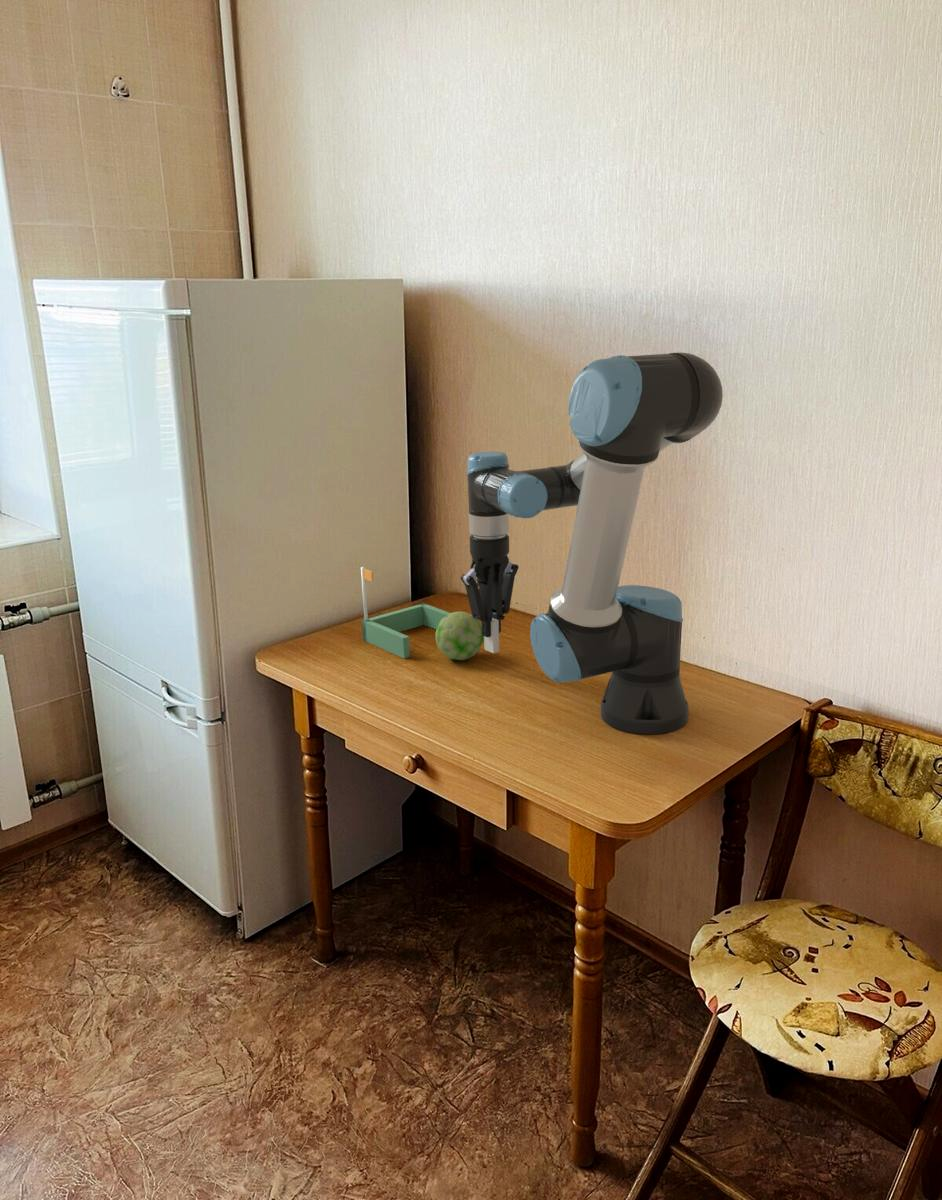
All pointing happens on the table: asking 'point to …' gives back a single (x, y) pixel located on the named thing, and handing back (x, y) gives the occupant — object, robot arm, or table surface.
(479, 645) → the decorative ball
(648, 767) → the table surface
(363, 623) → the cup
